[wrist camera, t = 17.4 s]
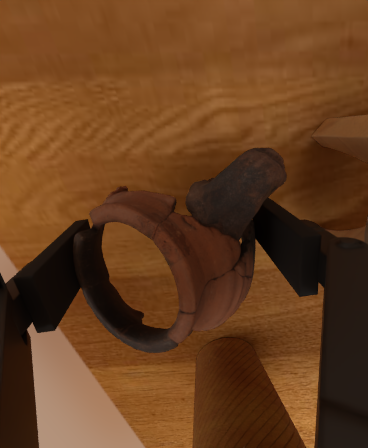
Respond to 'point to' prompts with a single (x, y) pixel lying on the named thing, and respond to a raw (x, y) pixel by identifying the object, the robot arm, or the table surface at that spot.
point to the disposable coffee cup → (238, 401)
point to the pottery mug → (184, 249)
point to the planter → (350, 144)
